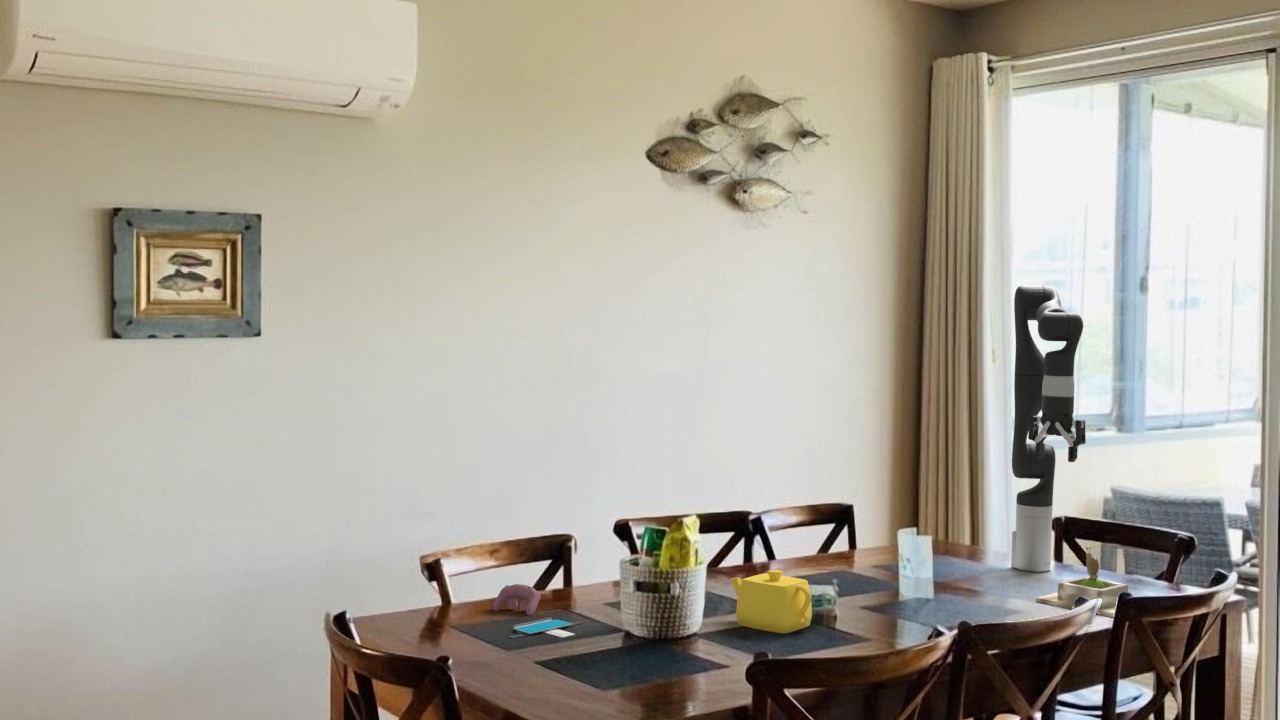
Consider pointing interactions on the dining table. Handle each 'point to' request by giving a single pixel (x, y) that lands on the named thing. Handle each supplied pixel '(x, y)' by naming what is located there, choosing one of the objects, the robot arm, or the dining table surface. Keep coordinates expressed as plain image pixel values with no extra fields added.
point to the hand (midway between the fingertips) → (1055, 460)
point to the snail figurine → (1092, 572)
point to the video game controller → (518, 591)
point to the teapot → (773, 602)
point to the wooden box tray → (1085, 594)
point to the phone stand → (543, 627)
